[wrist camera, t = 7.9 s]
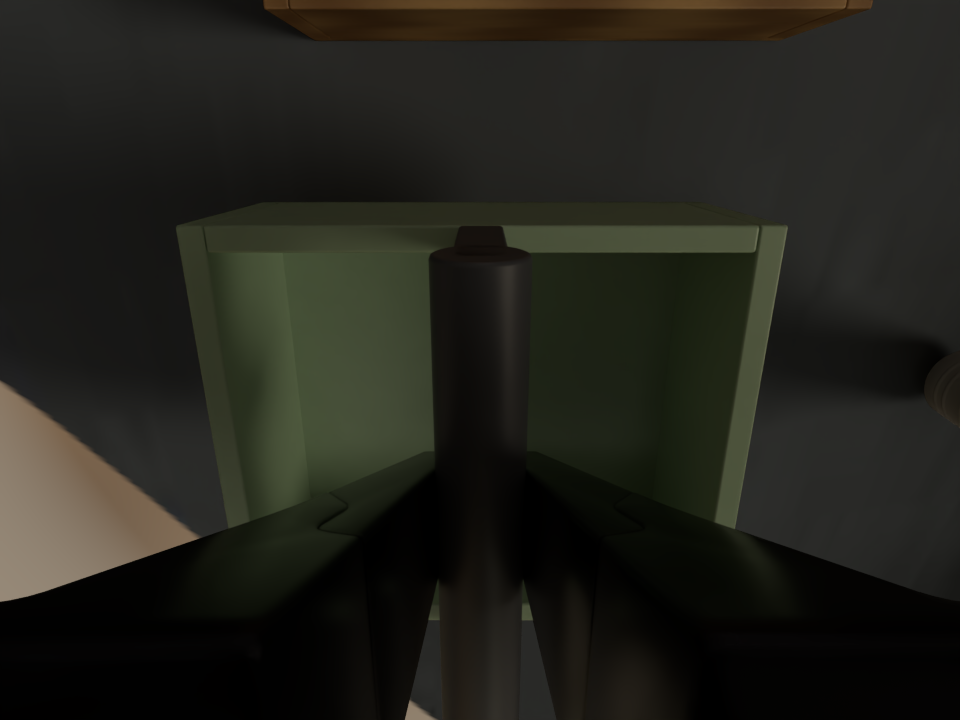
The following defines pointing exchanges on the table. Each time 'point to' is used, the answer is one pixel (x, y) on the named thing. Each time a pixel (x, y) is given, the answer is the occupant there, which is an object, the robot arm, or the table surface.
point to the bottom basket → (559, 19)
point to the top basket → (481, 372)
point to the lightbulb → (945, 387)
